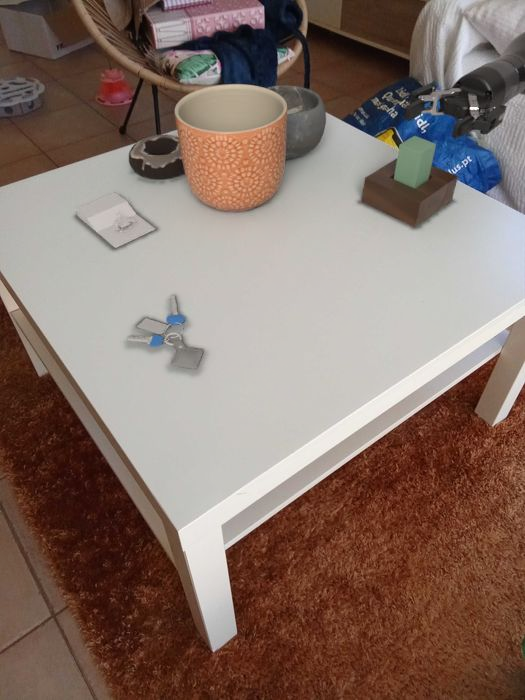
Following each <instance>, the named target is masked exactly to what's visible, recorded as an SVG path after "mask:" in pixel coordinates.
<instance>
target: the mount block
mask: <svg viewBox="0 0 525 700" xmlns="http://www.w3.org/2000/svg"><path fill="white" fill-rule="evenodd" d="M396 163H397V157H396V158H395V159H393V160H392V161H389V162H388V163H386V164H385V165H384V166H381V167H380V168H378V169H376V170H375V171H374V172H372V173H371V174H369V175H367V176H365V178H364V184H363V192H362V198H361V199H362V200H361V202H362V203H363V204H365V205H368V206H370V207H372V208H373V209H376V210H378V211H379V212H382V213H385V214H387V215H388V216H391V217H393V218H395V219H397V220H399V221H401V222H404V223H406V224H407V225H410V226H412V227H414V228H416V227H418V226H419V225H421V224H422V223H423V222H424V221H426V220H427V219H428V218H430V217H432V216H433V215H434V214H436V213H437V212H438V211H440V210H441V209H442V208H443V207H445V206H447V205H448V204H449V203H450V202H452V201H453V197H454V194H455V189H456V185H457V183H458V178H459V175H456V174H454V173H452V172H449V171H447V170H444V169H441V168H440V167H437V166H434V165H432V166H431V170H430V175H429V179H428V181H426V182H425V183H424V184H422V185H421V186H419V187H418V188H416V189H415V188H413V187H410V186H408V185H406V184H404V183H401V182H399V181H397V180H394V175H395V169H396Z"/></svg>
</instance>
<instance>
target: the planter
mask: <svg viewBox="0 0 525 700" xmlns="http://www.w3.org/2000/svg"><path fill="white" fill-rule="evenodd" d="M266 88H267V87H262V86H259V85H253V84H245V83H244V84H243V83H228V84H227V83H226V84H218V85H211V86H207V87H202V88H200V89H197V90H194V91H191V92H190V93H188V94H186V95H185V96H183V97H182V98H181V99H180V100H179V101H178V102H177V103H176V105H175V107H174V118H175V119H174V120H175V126H176V133H177V137H178V138H179V144H180V151H181V157H182V162H183V167H184V175H185V178H186V179H185V180H186V182H187V184H188V187H189V189H190V191H191V192H192V193H193V195H194V196H195V197H196V198H197V199H198V200H200V202H202V203H203V204H205V205H207V206H209V207H211V208H213V209H215V210H218V211H223V212H236V213H237V212H245V211H251V210H253V209H256V208H257V207H260V206H262V205H263V204H265V203H266V202H268V201H269V200H270V199H272V197H273V196H274V195H275V194H276V193H277V192H278V190H279V188H280V186H281V184H282V182H283V178H284V172H285V167H286V159H285V157H286V135H287V103H286V101H285V100H284V98H283V97H282V96H280V95H279V94H278V93H276V92H274V91H272V90H269V89H266Z"/></svg>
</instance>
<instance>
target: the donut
mask: <svg viewBox="0 0 525 700" xmlns="http://www.w3.org/2000/svg"><path fill="white" fill-rule="evenodd" d="M128 163H129V166H130V167H131V169H132V170H133V171H134V173H136V174H137V175H139V176H140V177H143V178H147V179H152V180H165V179H166V180H167V179H172V178H175V177H177V176H180V175H182V174H185V172H184V167H183V162H182V157H181V151H180V144H179V138H178V135H177V136H176V135H173V134H156V135H151V136H147V137H144V138H143V139H140V140H138V141H137V142H136V143H134V144H133V145H132V147H131V149H130V150H129V152H128Z"/></svg>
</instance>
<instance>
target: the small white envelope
mask: <svg viewBox="0 0 525 700" xmlns="http://www.w3.org/2000/svg"><path fill="white" fill-rule="evenodd" d="M75 213H76V216H77V217H78V218H79V219H80V220H82V222H84V223H85V224H86V225H87V226H89V227H90V228H91V229H92V230H93V231H95V232H96V233H97V234H98V235H99V236H101V237H102V239H104V240H105V241H106V242H107V243H108V244H110V245H111V246H113V247H114V248H115V249H117V248H118V247H121V246H123V245H125V244H127V243H129V242H131V241H134V240H136V239H138V238H140V237H142V236H144V235H146V234H149V233H151V232H153V231H155V230H156V228H155V227H154V226H153V225H151V223H149V222H147V221H146V220H145V219H143V218H142V217H141V216H140V215H138V214H137V213H136V212H135V210H134V208H133V207H132V206H131V205H130V204H129V202H128V201H127V200H126V199H125V198H124V197H122V196H121V195H120V194H118V193H116V191H114V192H112V193H110V194H107V195H104V196H102V197H100V198H98V199H96V200H93V201H91V202H88V203H87V204H84V205H82V206H79V207H76V208H75Z"/></svg>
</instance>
